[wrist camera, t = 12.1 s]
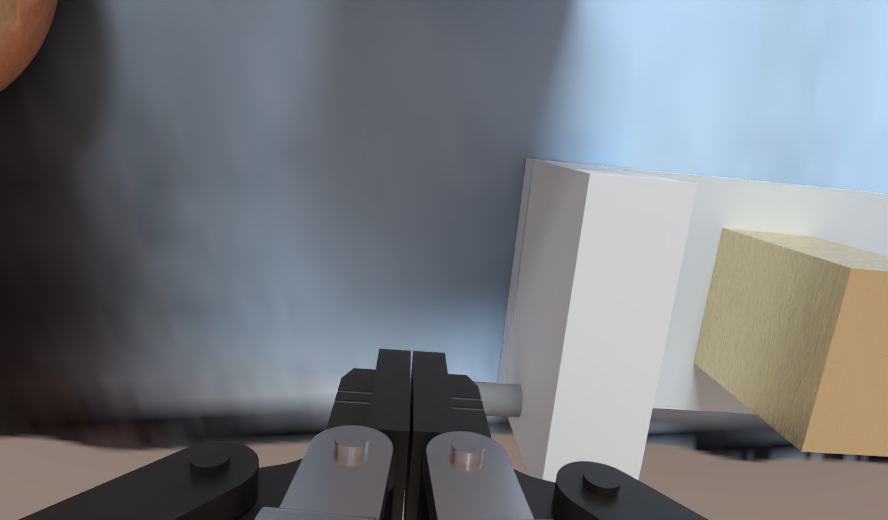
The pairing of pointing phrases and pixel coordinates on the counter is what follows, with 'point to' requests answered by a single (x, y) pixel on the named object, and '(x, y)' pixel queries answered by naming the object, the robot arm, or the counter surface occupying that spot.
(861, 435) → the block
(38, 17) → the ceramic jug
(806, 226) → the vise
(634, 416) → the jaw
